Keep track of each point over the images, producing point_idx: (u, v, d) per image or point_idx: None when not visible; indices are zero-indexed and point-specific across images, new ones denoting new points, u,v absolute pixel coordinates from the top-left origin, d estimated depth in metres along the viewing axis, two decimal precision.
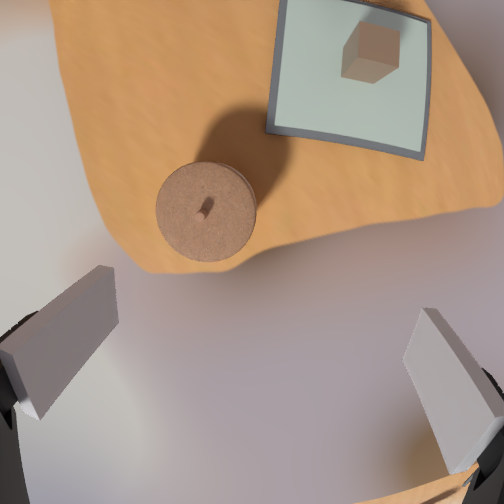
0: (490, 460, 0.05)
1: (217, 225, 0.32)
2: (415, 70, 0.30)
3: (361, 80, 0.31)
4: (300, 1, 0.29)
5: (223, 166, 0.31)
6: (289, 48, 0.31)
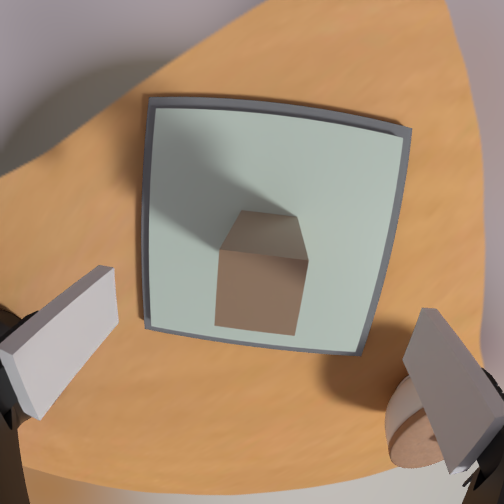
0: (490, 460, 0.05)
1: None
2: (257, 135, 0.21)
3: None
4: (163, 313, 0.26)
5: (405, 430, 0.22)
6: (245, 333, 0.26)
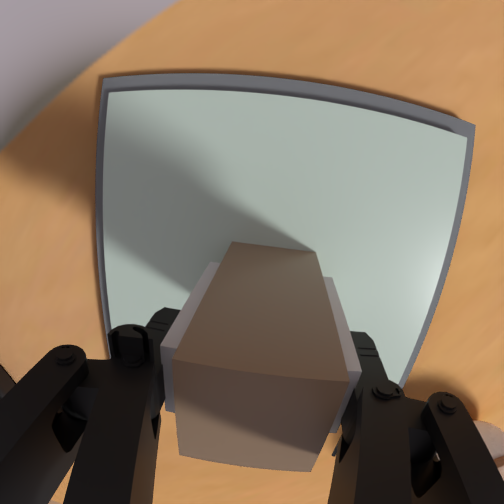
0: (348, 428, 0.07)
1: None
2: (256, 127, 0.13)
3: None
4: None
5: None
6: None
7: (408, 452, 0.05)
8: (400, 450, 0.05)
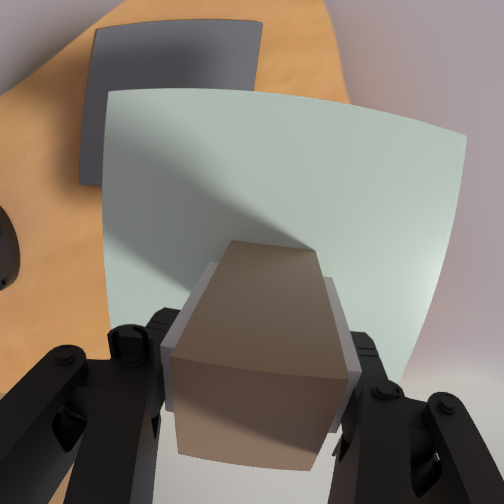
0: (348, 428, 0.07)
1: None
2: (256, 125, 0.13)
3: None
4: None
5: None
6: None
7: (408, 452, 0.05)
8: (400, 450, 0.05)
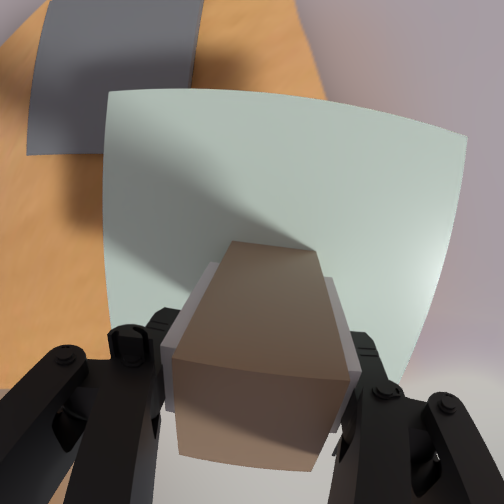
0: (348, 428, 0.07)
1: None
2: (256, 126, 0.13)
3: None
4: None
5: None
6: None
7: (408, 452, 0.05)
8: (400, 450, 0.05)
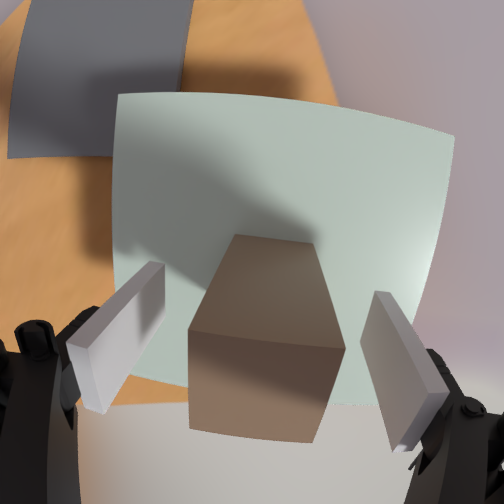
0: (432, 443, 0.07)
1: None
2: (258, 127, 0.14)
3: None
4: (138, 360, 0.20)
5: None
6: None
7: (485, 467, 0.04)
8: (479, 464, 0.04)
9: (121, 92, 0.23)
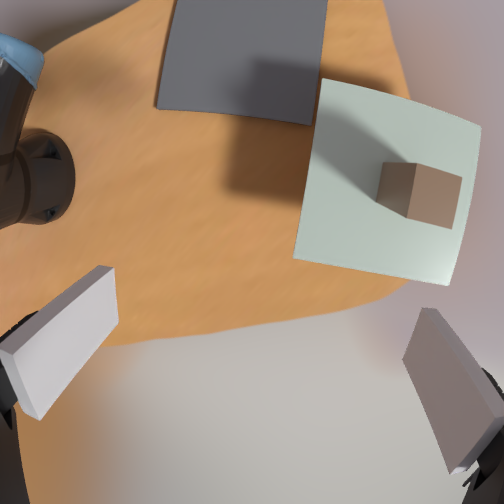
0: (490, 460, 0.05)
1: None
2: (396, 111, 0.26)
3: None
4: (307, 245, 0.31)
5: None
6: (373, 265, 0.31)
7: None
8: None
9: (276, 76, 0.34)
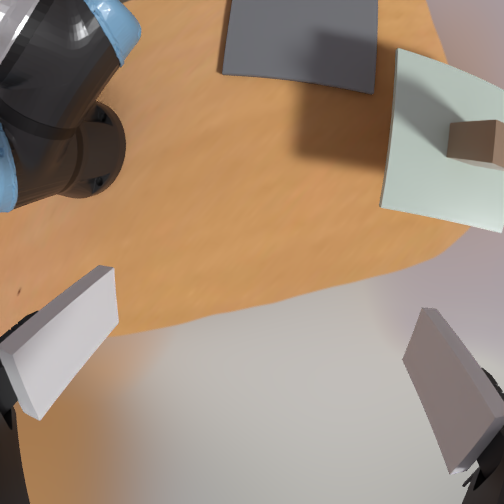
0: (490, 460, 0.05)
1: None
2: (456, 80, 0.26)
3: None
4: (393, 195, 0.31)
5: None
6: (446, 213, 0.31)
7: None
8: None
9: (340, 48, 0.34)
